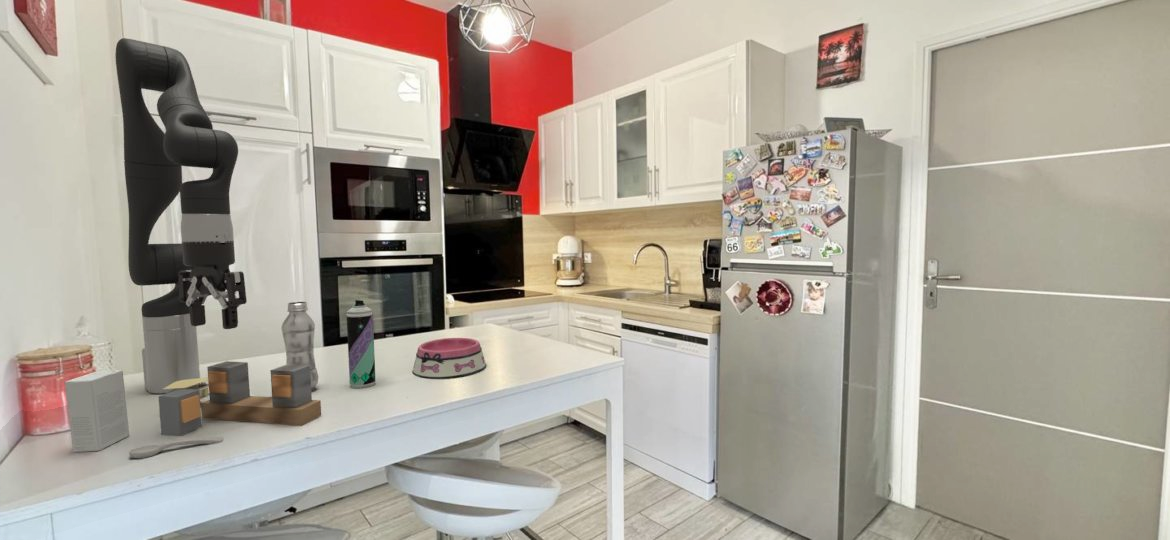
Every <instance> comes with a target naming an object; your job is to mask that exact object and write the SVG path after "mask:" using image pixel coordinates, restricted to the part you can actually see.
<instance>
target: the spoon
mask: <svg viewBox="0 0 1170 540" xmlns="http://www.w3.org/2000/svg"><path fill="white" fill-rule="evenodd" d="M223 441H224V437H223V436H206V437H205V436H204V437H193V438H192V437H191V438H184V439H178V440H174V441H173V440H172V441H168V442H164V443H162V444H158V445H157V444H152V445H151V444H150V445H144V446H140V447H135V448H133V449H131V450H129V453H128V455H129V457H131V458H133V459H144V458H149V457H153V456H155V455H157V454H159V453H160V452H161V451H163V450H165V449H168V448H169V449H170V448H172V447H176V446H182V445H183V446H186V445H198V444H199V445H200V444H201V445H202V444H203V445H204V444H208V445H213V444H219V443H222V442H223Z"/></svg>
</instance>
